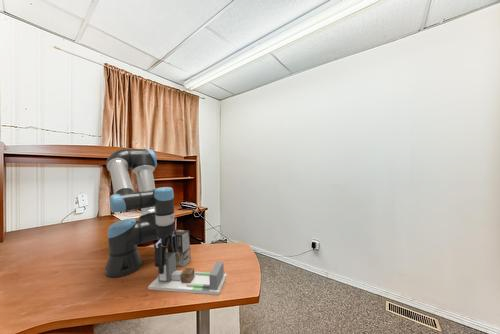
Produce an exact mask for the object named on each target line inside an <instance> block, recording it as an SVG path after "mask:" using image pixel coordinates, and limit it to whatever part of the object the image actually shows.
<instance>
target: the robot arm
mask: <svg viewBox="0 0 500 334" xmlns="http://www.w3.org/2000/svg"><path fill="white" fill-rule="evenodd" d="M157 160H158V159H157V154H156V153H155V152H154V150H153V149H150V148H149V149H148V148H121V149H118V150H116V151H114V152H112V153H111V154H110V155H109V156H108V157H107V160H106V164H105V165H106V166H105V167H106V168H107V169H106V170H107V171H108V172H109V174H110V179H111V182H112V183H111V184H112V190H113V194H112V195H110V196H109V206H110V211H111V212H112V213H124V212H129V211H135V210H141V211H140V212H141V214H140V215H139V217H138V220H136V218H133V217H132V218H125V219H121V220H118V221H116V222H113V223H112V224H110V225H109V226H108V228H107V238H108V239H107V240H108V241H107V242H108V258H107V262H106V266H105V268H104V269H105V275H106V277H109V278H120V277H125V276H127V275H130V274H132V273H135V272H136V271H138V270H139V269H140V268H141V267H142V264H143V261H142V257H141V256H140V253H139V251H138V245H140V244H141V245H142V244H145V243H148V242H149V243H150V242H152V241H156V240H158V241H157V242H154V244H153V248H154V267H156V268H158V267H159V278H160V280H163V281H166V280H167V278H166V265H165V257H166V252H172V253H175V256H176V255H177V253H176V252H177V244H176V232H174V231H175V229H176V224H175V223H176V222H175V218H176V216H175V200H174V199H175V194H174V193H175V192H174V188H173V187H171V186H170V187H169V186H163V187H157V188H156V186H155V185H156V184H155V178H154V173H153V172H154V171H155V170H156V168H157V166H158V162H157ZM130 169H131V170H132V173H134V174H135V175H136V181H137V182H136V183H137V189H138V191H135V190H134V186H133V184H132V180H131V176H130V173H129V170H130ZM174 249H175V250H174Z"/></svg>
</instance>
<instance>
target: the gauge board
mask: <svg viewBox="0 0 500 334" xmlns="http://www.w3.org/2000/svg"><path fill="white" fill-rule="evenodd" d="M224 270H225V269H224V261H216V262H215V264H214V266H213V267H212V270H211V271H209V272H207V271H194V274H195V277H194V279H193V280H192V282H191V283H181V280H171V281H170V282H161V281H158V276H157V277H156V278H155V279H154V280H153V281H152V282H151V283H150V284H149V285H148V290H154V291H165V292H176V293H177V292H179V293H190V294H203V295H215V296H219V295H220V293H221V291H222V289H223V286H224V283H225V282H226V279H227V273H224V272H225V271H224ZM179 271H180V272H183V270H179Z"/></svg>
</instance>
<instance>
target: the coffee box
mask: <svg viewBox="0 0 500 334" xmlns="http://www.w3.org/2000/svg"><path fill="white" fill-rule="evenodd" d="M174 232H176V244H177V252H176V253H177V255H176V256H175V257H176V267H177V266H178V267H182V268H183V267H184V268H185V266H187V265H188V264H189V263H190V262H192V260H191V237H190V236H191V235H190V230H186V229H185V230H184V229H178V228H177V229H176V228H175V231H174ZM174 250H175V249H174Z"/></svg>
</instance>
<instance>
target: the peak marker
mask: <svg viewBox="0 0 500 334" xmlns="http://www.w3.org/2000/svg"><path fill="white" fill-rule="evenodd" d="M182 271H183V272H182V273H181V283H191V282H192V280H193V279H194V277H195V274H194V272H195V268H194V267H184V269H183V270H182Z"/></svg>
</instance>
